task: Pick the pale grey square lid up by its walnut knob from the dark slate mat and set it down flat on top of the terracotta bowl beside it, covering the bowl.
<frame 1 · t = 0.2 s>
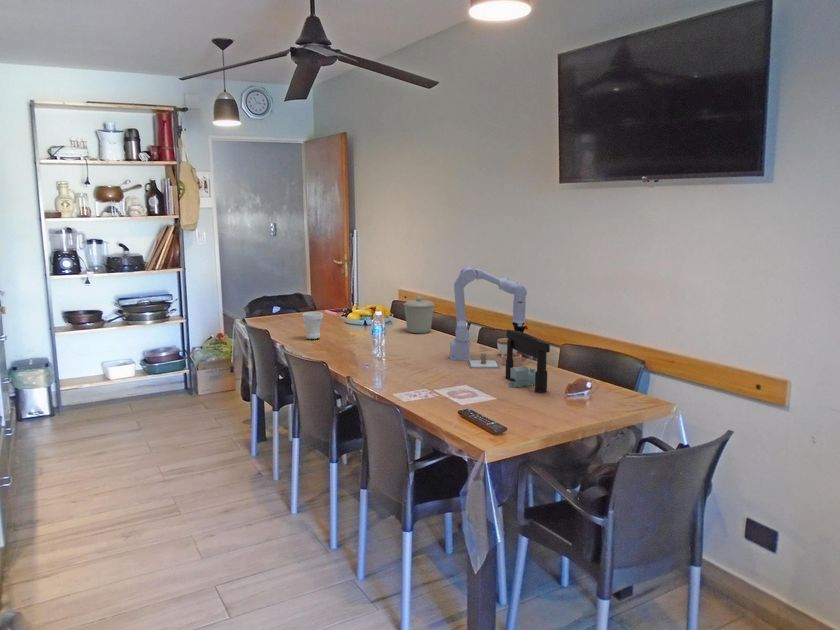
hand: (518, 338, 313), 10 cm above the table, tool pointing down, fingers open, 7 cm apart
bowl: (511, 364, 303), on the table
cup: (313, 339, 361), on the table
lid: (483, 364, 302), resting on mat
canister: (419, 332, 381), on the table
mat: (483, 365, 302), on the table
black arch frame: (525, 384, 271), on the table
lidded jar: (507, 356, 322), on the table
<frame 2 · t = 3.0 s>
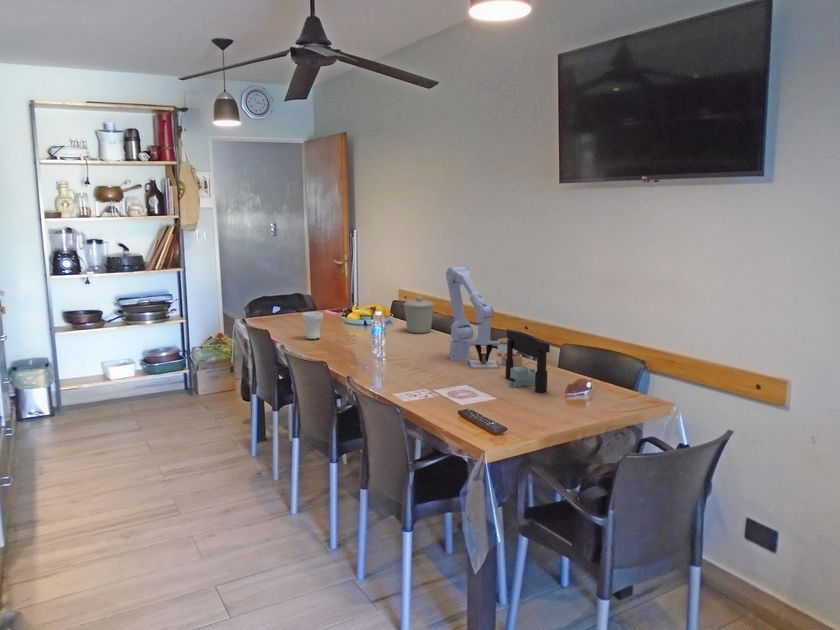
hand: (483, 361, 302), 2 cm above the table, tool pointing down, fingers closed on lid, 2 cm apart
lid: (483, 364, 302), resting on mat, touching gripper
everything else where it was.
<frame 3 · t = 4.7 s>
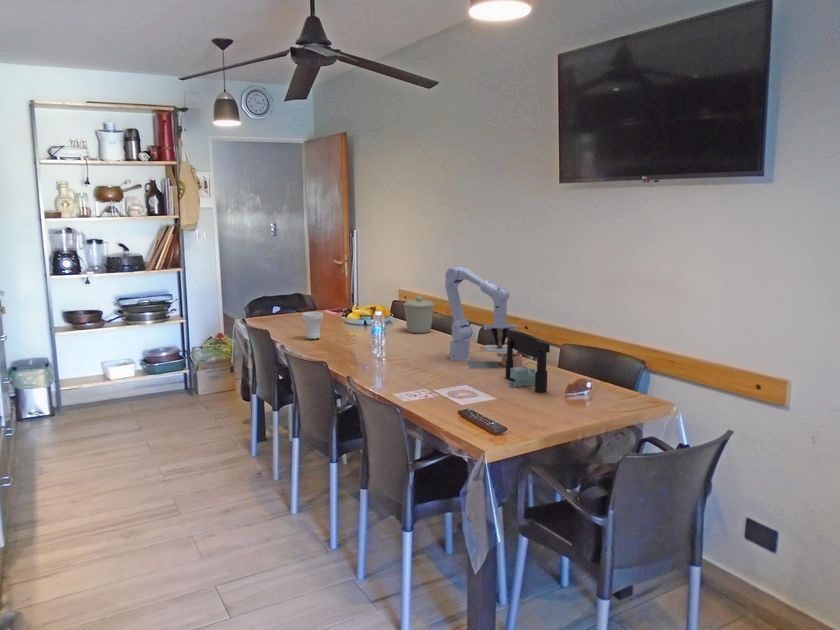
hand: (499, 344, 301), 10 cm above the table, tool pointing down, fingers closed on lid, 2 cm apart
lid: (499, 348, 301), point 8 cm above the table, touching gripper
everything else where it was.
when the fingers open (7 cm above the table, at t = 6.2 s): lid stays where it is, resting on bowl.
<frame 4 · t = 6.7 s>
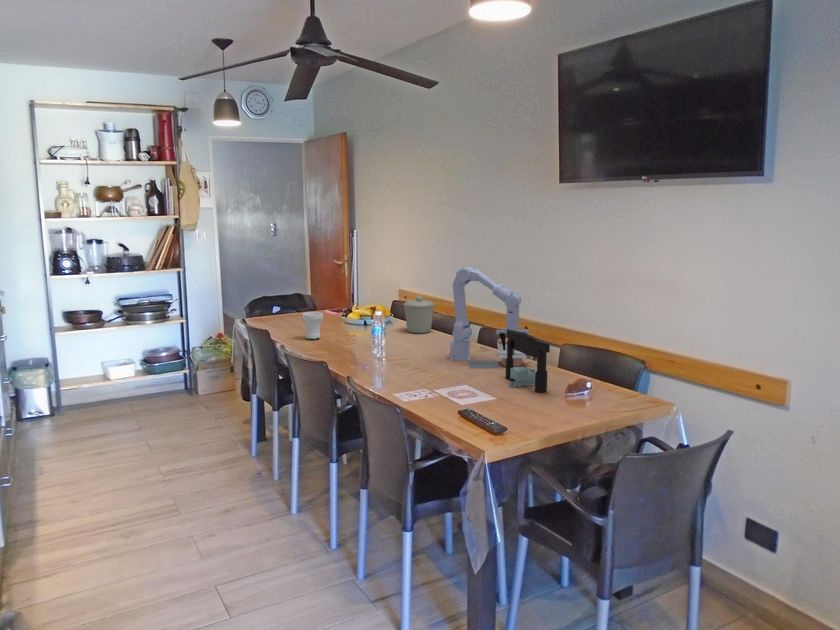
hand: (511, 349, 302), 7 cm above the table, tool pointing down, fingers open, 6 cm apart
lid: (511, 355, 302), point 4 cm above the table, touching bowl
everything else where it was.
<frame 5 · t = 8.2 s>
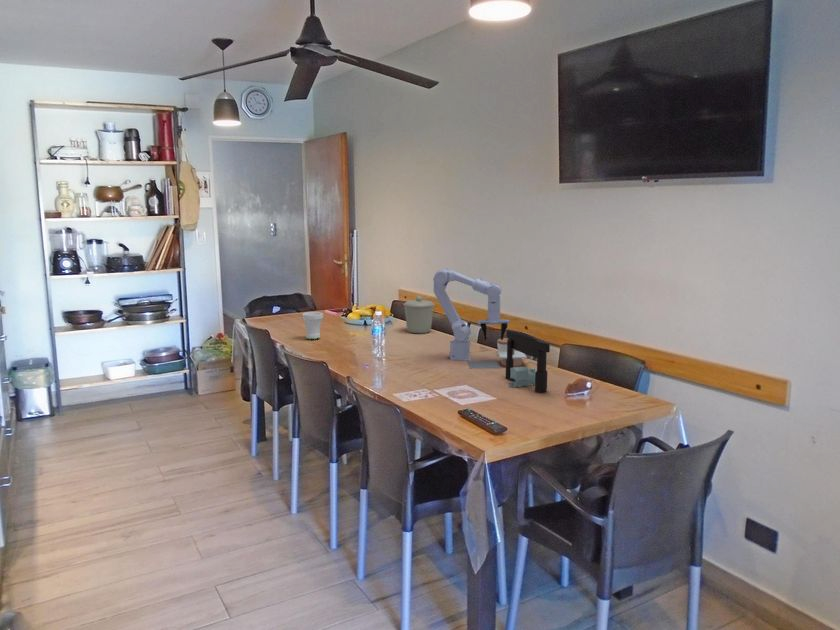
hand: (493, 339, 309), 10 cm above the table, tool pointing down, fingers open, 7 cm apart
nothing on the table moved.
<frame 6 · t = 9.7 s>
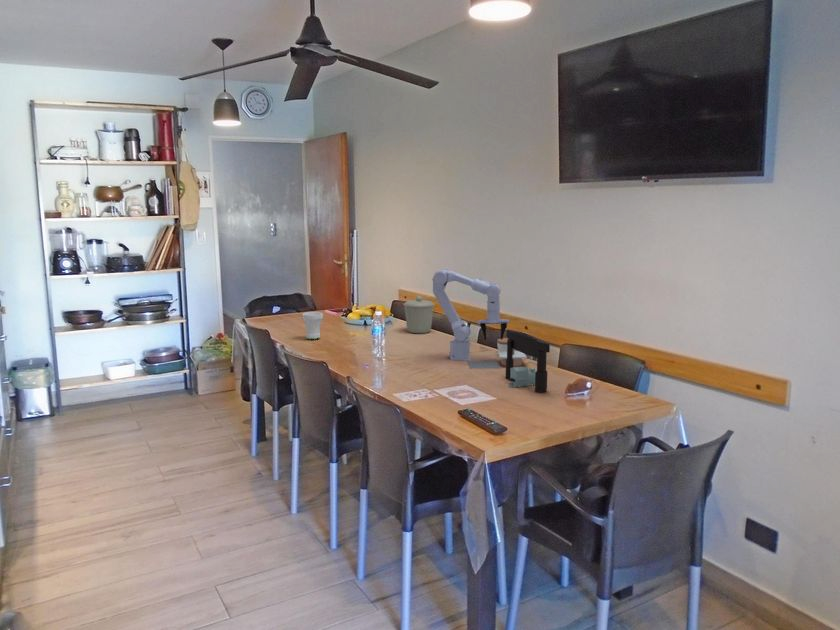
hand: (493, 339, 309), 10 cm above the table, tool pointing down, fingers open, 7 cm apart
nothing on the table moved.
at the end: lid 0.1 cm from the bowl (horizontally); lid point 4.5 cm above the table; lid tilted 0° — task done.
